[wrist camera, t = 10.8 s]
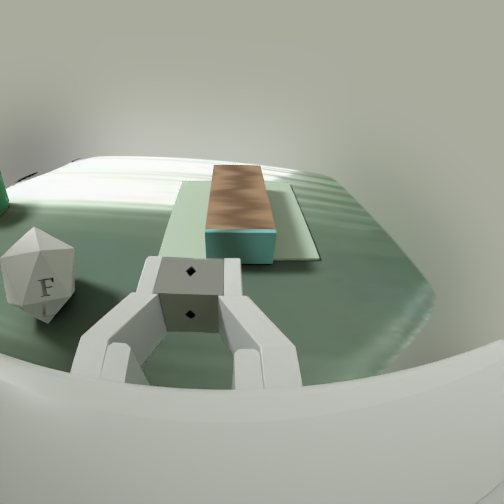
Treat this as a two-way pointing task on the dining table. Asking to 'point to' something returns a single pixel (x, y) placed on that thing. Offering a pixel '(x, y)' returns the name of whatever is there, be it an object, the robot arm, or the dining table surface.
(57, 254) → the die
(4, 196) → the beverage can
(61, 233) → the dining table surface
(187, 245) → the green mat
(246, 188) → the walnut block
